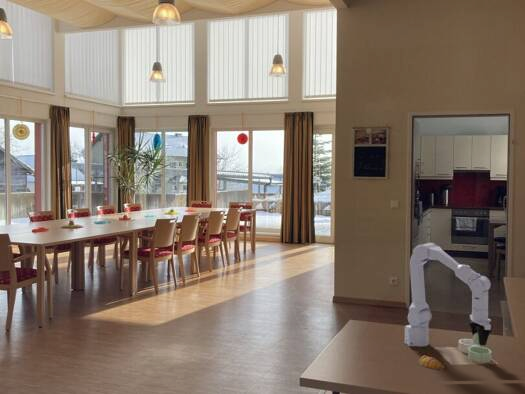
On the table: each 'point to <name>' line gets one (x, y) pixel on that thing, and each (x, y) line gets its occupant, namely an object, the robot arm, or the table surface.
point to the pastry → (430, 362)
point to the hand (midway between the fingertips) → (479, 342)
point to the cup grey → (466, 345)
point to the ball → (476, 339)
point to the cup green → (479, 354)
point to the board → (458, 356)
